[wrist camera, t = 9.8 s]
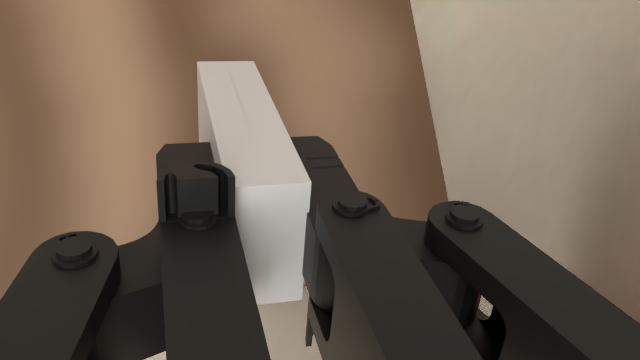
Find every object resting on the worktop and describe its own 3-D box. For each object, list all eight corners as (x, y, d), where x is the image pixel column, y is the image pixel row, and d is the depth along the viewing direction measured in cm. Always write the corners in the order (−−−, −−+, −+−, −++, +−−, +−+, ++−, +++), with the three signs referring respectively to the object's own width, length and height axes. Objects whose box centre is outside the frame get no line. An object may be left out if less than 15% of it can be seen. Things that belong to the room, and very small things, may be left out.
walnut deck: (365, 47, 27) (406, -16, 22) (403, 273, 24) (458, 256, 20) (20, 55, 23) (-19, -19, 18) (27, 320, 21) (-15, 312, 16)
